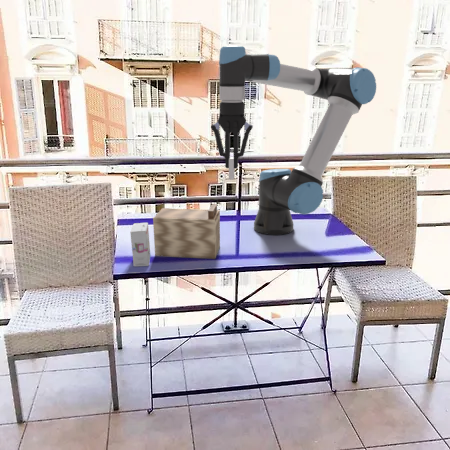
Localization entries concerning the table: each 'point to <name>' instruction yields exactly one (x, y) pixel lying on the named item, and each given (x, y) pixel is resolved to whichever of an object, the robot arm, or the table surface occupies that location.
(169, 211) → the lid
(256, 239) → the table surface
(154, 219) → the box
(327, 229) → the table surface
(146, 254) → the ink box
